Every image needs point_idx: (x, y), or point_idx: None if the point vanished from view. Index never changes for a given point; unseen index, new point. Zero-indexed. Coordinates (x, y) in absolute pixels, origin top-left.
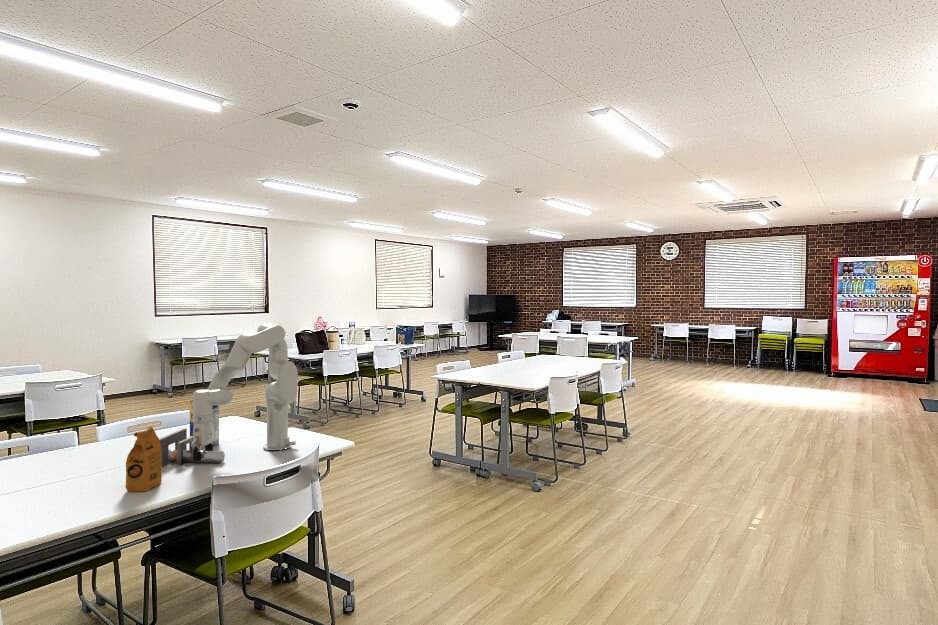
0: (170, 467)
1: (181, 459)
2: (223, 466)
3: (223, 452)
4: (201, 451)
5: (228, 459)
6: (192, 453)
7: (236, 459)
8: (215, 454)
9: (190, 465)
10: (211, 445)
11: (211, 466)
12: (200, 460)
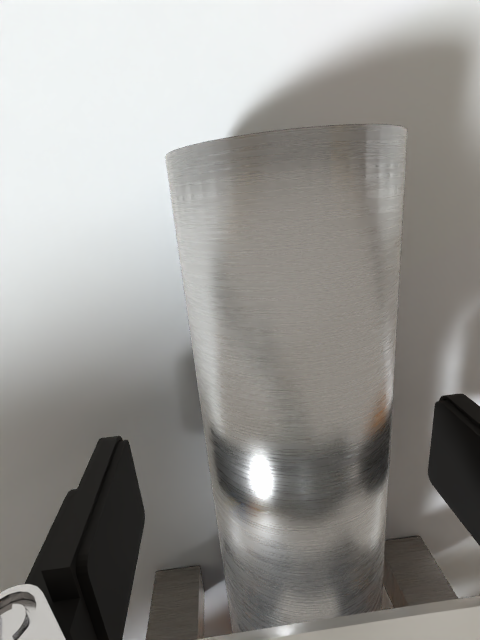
0: (473, 574)
1: (442, 598)
2: (429, 15)
3: (214, 142)
4: (344, 543)
5: (71, 162)
6: (378, 605)
7: (21, 9)
8: (396, 233)
9: (406, 463)
10: (74, 577)
11: (434, 210)
12: (455, 394)
